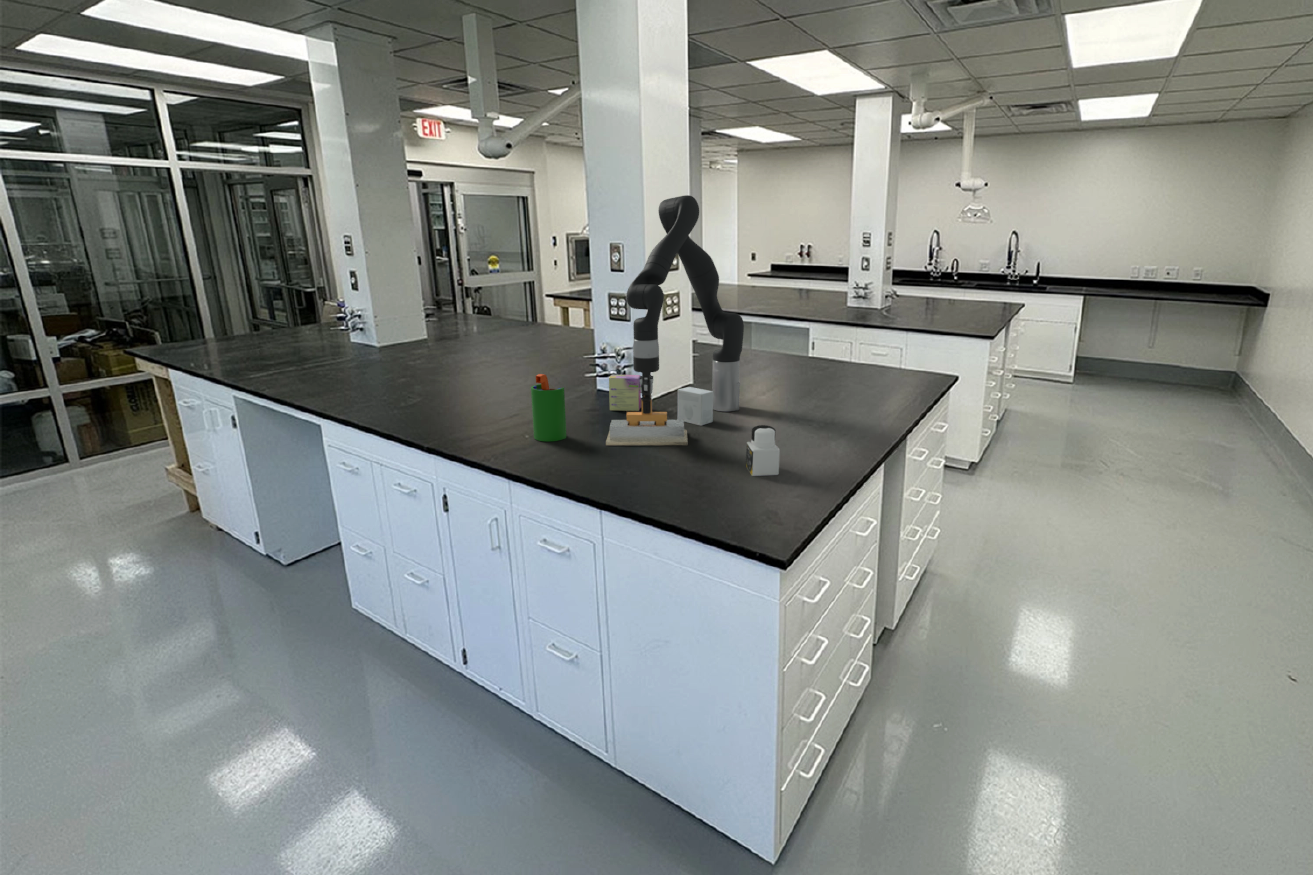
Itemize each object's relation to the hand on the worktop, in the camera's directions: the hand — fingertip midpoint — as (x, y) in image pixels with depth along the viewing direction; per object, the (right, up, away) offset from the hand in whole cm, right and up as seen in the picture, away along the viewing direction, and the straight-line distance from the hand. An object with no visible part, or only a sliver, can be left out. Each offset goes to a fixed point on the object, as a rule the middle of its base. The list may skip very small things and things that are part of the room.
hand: (647, 411), depth 194 cm
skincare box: (+16, -2, +20) cm, 26 cm away
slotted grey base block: (0, -8, +3) cm, 9 cm away
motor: (-30, -8, +5) cm, 31 cm away
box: (-8, +2, +35) cm, 36 cm away
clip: (0, -7, +2) cm, 7 cm away
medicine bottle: (+30, -17, -24) cm, 42 cm away
